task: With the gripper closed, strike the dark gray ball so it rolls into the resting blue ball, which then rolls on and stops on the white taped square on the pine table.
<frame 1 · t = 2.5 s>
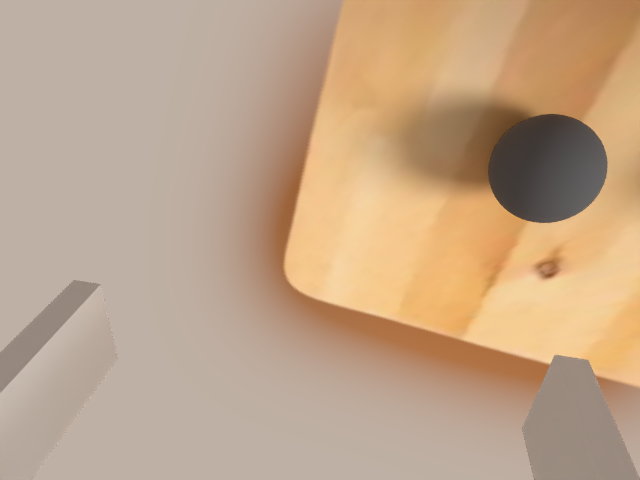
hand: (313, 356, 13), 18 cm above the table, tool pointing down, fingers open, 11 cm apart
dark gray ball: (545, 169, 25), on the table
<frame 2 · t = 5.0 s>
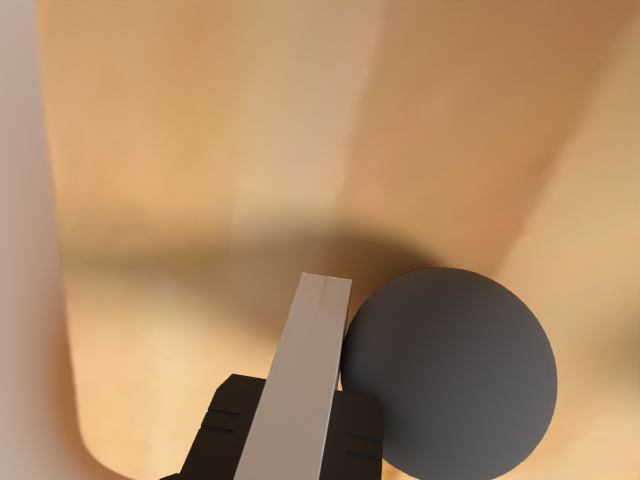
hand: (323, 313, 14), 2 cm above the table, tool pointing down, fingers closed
dark gray ball: (442, 370, 13), on the table, touching gripper
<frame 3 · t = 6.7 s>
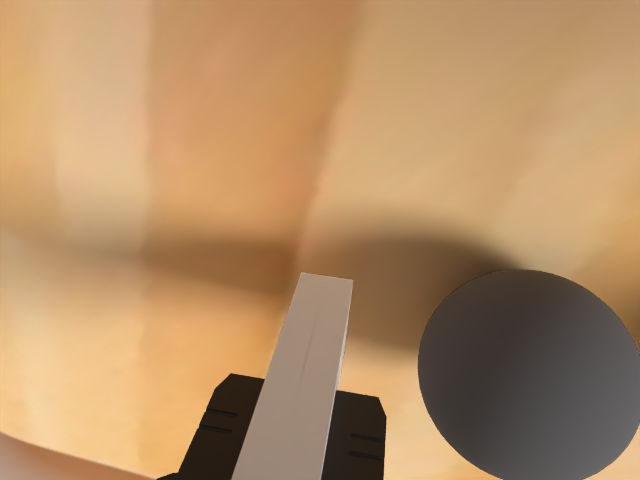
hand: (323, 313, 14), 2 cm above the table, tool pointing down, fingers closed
dark gray ball: (522, 371, 13), on the table
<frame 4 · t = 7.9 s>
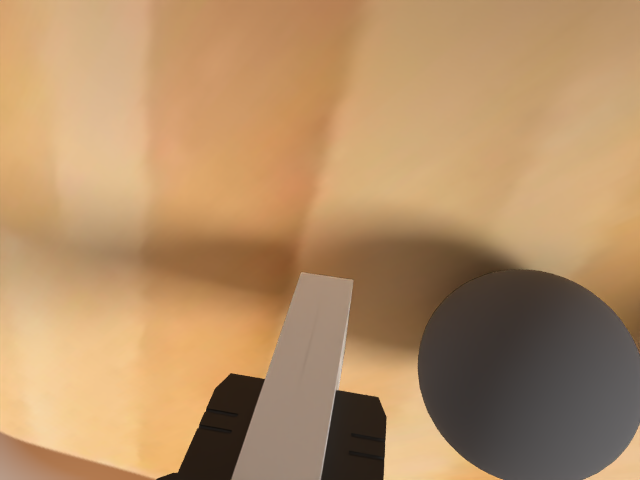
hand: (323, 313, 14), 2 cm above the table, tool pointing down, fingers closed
dark gray ball: (522, 371, 13), on the table
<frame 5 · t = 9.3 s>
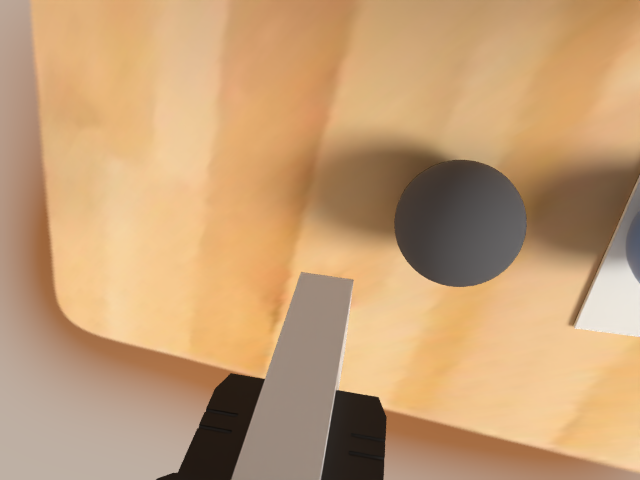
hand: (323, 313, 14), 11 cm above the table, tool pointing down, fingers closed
dark gray ball: (458, 223, 21), on the table
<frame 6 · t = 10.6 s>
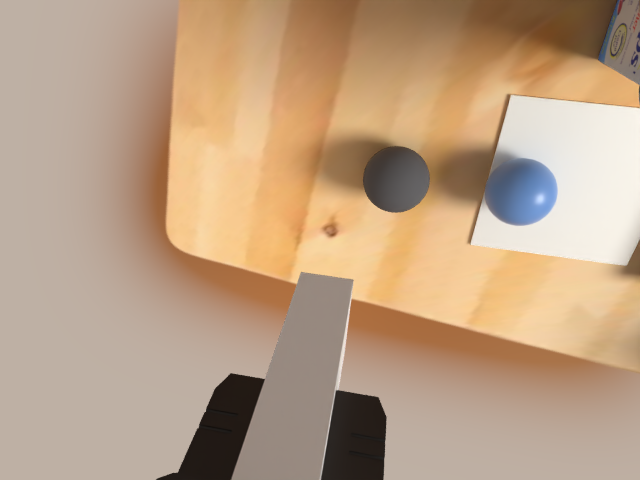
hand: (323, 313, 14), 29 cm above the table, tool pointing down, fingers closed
blue ball: (520, 192, 39), on the table
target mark: (572, 185, 41), on the table
dark gray ball: (396, 179, 40), on the table
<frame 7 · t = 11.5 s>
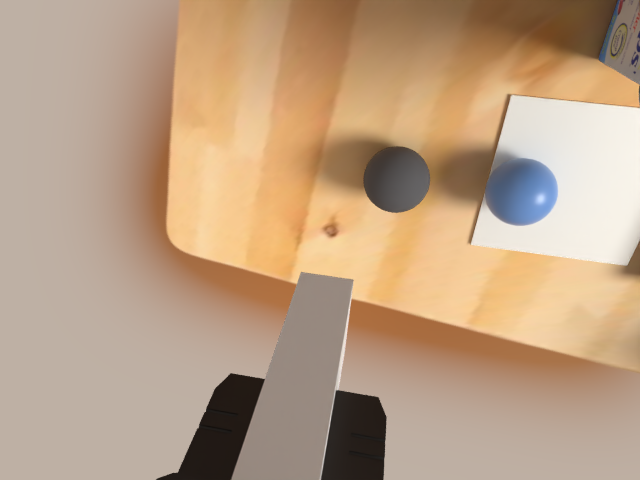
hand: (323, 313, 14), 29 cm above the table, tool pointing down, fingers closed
blue ball: (520, 192, 39), on the table
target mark: (572, 185, 41), on the table
dark gray ball: (396, 179, 40), on the table
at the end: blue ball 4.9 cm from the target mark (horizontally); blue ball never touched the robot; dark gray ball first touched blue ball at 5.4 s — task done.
